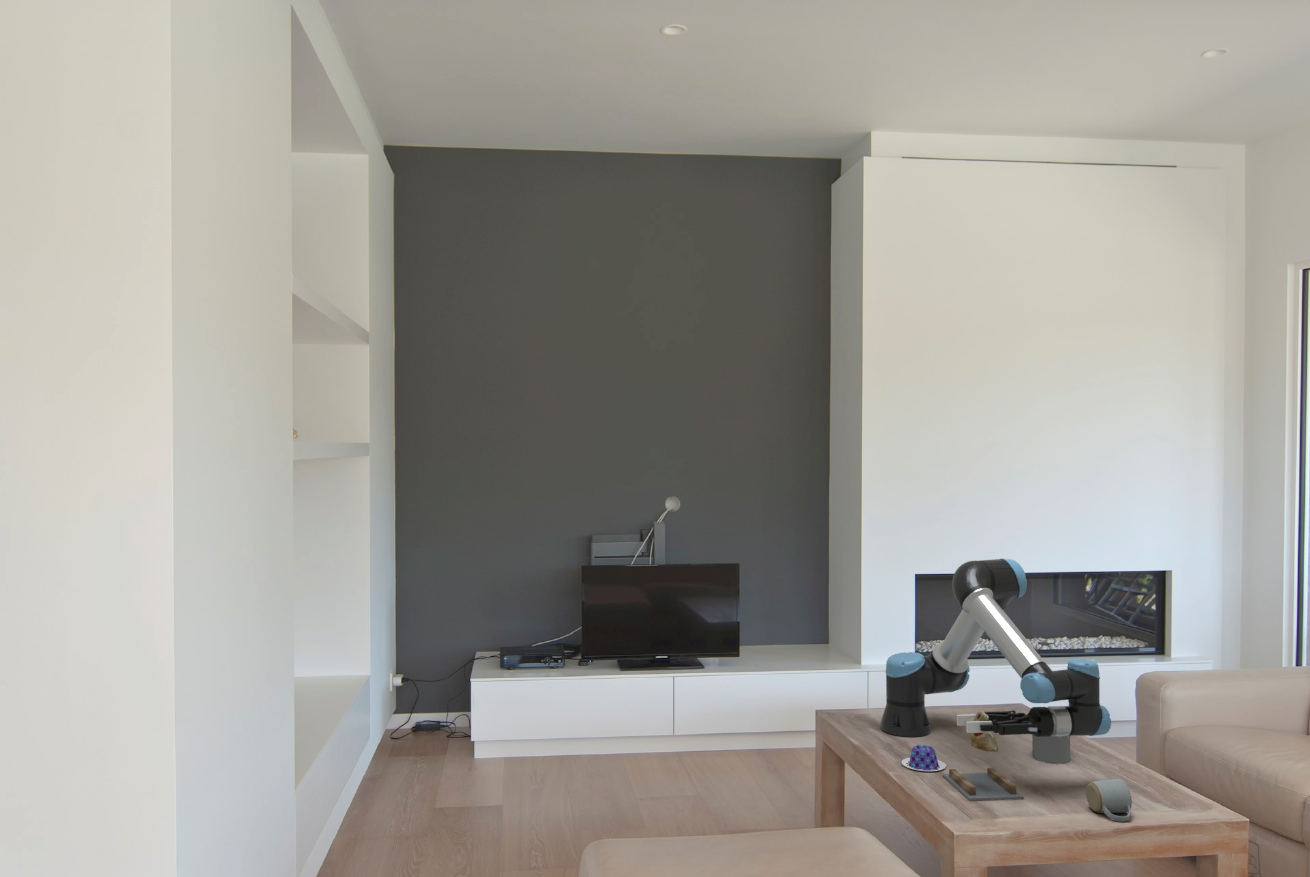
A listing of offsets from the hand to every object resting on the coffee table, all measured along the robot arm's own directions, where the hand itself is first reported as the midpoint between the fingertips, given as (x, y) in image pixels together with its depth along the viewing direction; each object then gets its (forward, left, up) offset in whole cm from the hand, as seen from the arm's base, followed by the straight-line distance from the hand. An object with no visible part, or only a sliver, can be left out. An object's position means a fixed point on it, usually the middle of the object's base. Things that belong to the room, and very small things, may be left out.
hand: (962, 723), depth 246 cm
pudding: (-18, -4, -17) cm, 25 cm away
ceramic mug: (+20, +29, -17) cm, 39 cm away
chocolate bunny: (+1, +5, -6) cm, 8 cm away
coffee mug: (-22, +36, -17) cm, 46 cm away
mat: (0, +5, -17) cm, 17 cm away
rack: (0, +5, -17) cm, 17 cm away
